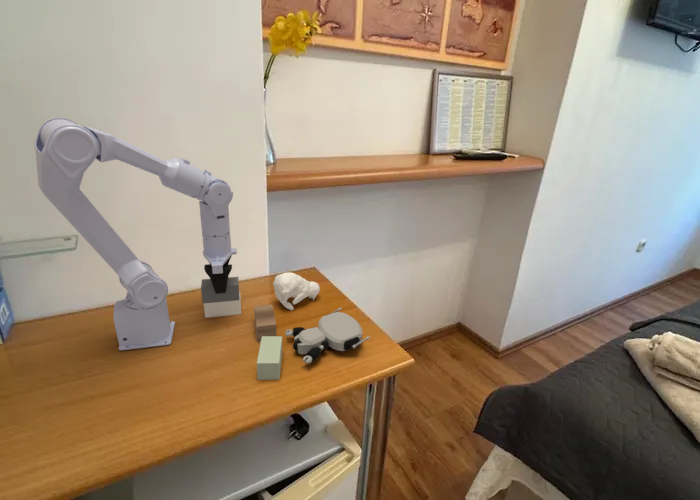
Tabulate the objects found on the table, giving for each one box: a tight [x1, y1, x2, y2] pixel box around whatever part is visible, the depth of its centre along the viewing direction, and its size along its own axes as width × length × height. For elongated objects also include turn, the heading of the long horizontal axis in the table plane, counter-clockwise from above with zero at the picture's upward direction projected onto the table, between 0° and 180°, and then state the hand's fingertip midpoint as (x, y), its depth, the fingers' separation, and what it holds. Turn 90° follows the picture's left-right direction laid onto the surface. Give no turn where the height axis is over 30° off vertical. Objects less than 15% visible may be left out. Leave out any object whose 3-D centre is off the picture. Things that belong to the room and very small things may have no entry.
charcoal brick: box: [200, 276, 241, 304], centre depth 89 cm, size 8×4×4 cm, turn 106°
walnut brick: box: [253, 303, 277, 343], centre depth 85 cm, size 8×4×4 cm, turn 16°
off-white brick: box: [203, 291, 242, 319], centre depth 90 cm, size 8×4×4 cm, turn 106°
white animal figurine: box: [272, 272, 321, 311], centre depth 95 cm, size 6×8×12 cm
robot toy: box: [284, 307, 371, 365], centre depth 81 cm, size 12×4×15 cm
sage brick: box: [256, 335, 283, 381], centre depth 75 cm, size 8×4×4 cm, turn 5°
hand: (220, 287), depth 88 cm, fingers closed on charcoal brick, 4 cm apart
